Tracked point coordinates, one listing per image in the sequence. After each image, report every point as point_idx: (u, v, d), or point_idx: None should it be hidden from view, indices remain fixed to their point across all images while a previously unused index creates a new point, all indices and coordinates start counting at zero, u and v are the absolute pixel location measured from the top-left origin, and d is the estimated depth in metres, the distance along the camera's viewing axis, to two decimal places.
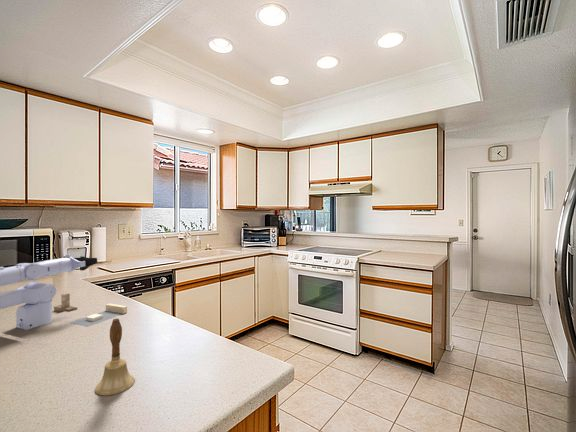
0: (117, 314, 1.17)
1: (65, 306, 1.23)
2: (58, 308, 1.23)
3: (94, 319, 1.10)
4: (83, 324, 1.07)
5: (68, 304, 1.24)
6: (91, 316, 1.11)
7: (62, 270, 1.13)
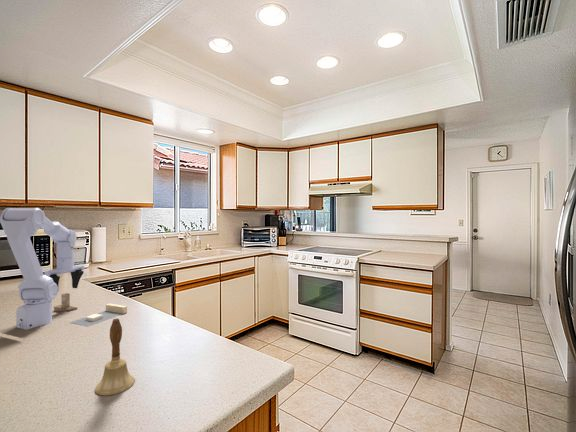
0: (117, 314, 1.17)
1: (65, 306, 1.23)
2: (58, 308, 1.23)
3: (94, 319, 1.10)
4: (83, 324, 1.07)
5: (68, 304, 1.24)
6: (91, 316, 1.11)
7: (73, 259, 1.25)
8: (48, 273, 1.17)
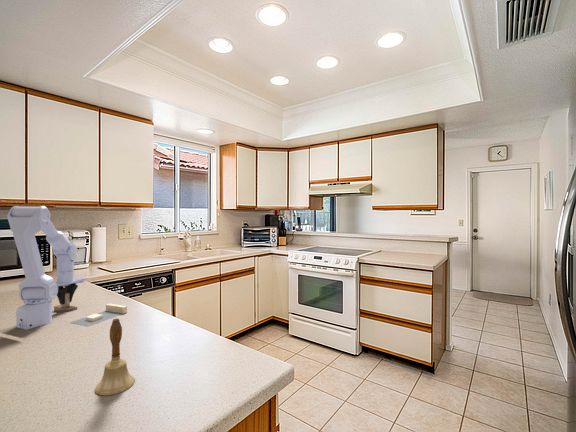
0: (117, 314, 1.17)
1: (65, 306, 1.23)
2: (58, 308, 1.23)
3: (94, 319, 1.10)
4: (83, 324, 1.07)
5: (68, 304, 1.24)
6: (91, 316, 1.11)
7: (73, 272, 1.25)
8: None
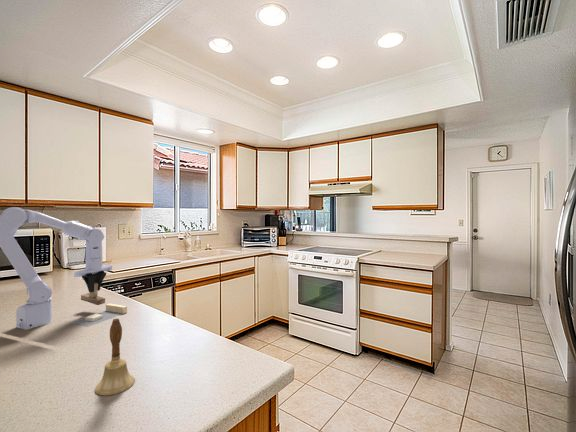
0: (117, 314, 1.17)
1: (93, 296, 1.20)
2: (85, 297, 1.20)
3: (94, 319, 1.10)
4: (83, 324, 1.07)
5: (96, 294, 1.21)
6: (91, 316, 1.11)
7: None
8: (78, 273, 1.13)
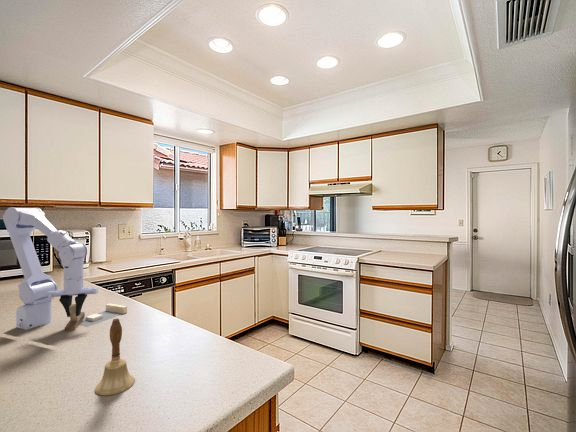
0: (117, 314, 1.17)
1: (71, 319, 1.05)
2: None
3: (94, 319, 1.10)
4: (83, 324, 1.07)
5: (75, 318, 1.05)
6: (91, 316, 1.11)
7: (79, 280, 1.04)
8: (49, 294, 1.02)
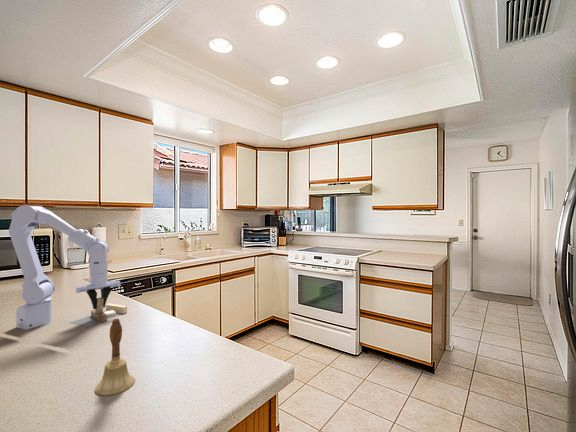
0: (117, 314, 1.17)
1: (97, 312, 1.12)
2: (93, 313, 1.13)
3: None
4: (83, 324, 1.07)
5: (101, 310, 1.13)
6: (105, 312, 1.16)
7: (106, 274, 1.14)
8: (78, 289, 1.08)
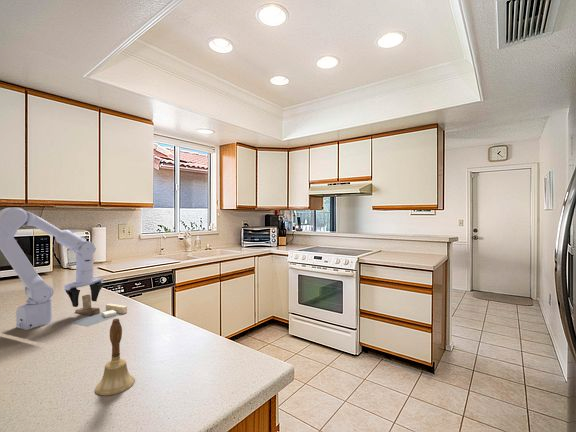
0: (117, 314, 1.17)
1: (87, 308, 1.18)
2: (80, 311, 1.19)
3: (106, 315, 1.14)
4: (83, 324, 1.07)
5: (90, 306, 1.19)
6: (106, 312, 1.16)
7: None
8: (68, 287, 1.13)
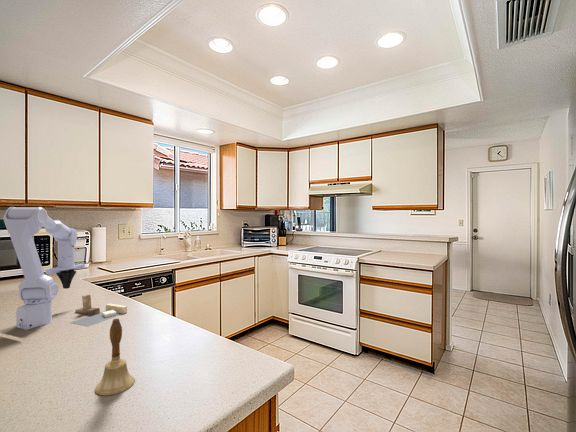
0: (117, 314, 1.17)
1: (87, 308, 1.18)
2: (80, 311, 1.19)
3: (106, 315, 1.14)
4: (83, 324, 1.07)
5: (90, 306, 1.19)
6: (106, 312, 1.16)
7: None
8: (49, 271, 1.18)
